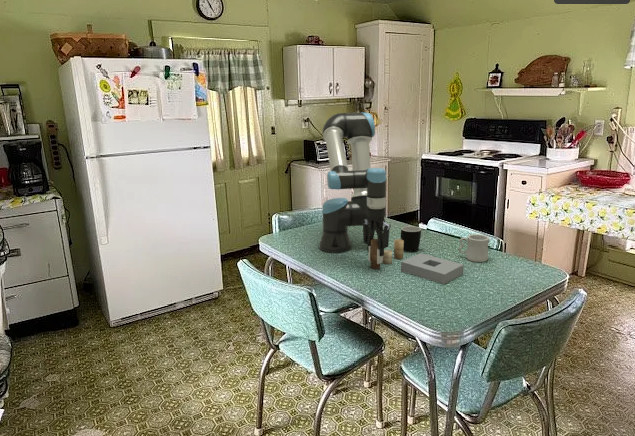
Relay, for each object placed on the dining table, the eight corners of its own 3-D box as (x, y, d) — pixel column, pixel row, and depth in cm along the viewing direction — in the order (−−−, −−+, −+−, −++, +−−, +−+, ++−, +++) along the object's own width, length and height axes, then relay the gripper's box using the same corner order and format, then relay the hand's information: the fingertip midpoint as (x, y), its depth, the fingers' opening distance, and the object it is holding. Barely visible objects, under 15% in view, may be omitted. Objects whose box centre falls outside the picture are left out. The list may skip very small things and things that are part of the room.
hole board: (400, 270, 187) (401, 261, 186) (420, 262, 196) (420, 253, 195) (444, 284, 173) (444, 274, 172) (463, 274, 182) (463, 264, 181)
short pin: (380, 262, 197) (380, 251, 195) (386, 260, 199) (386, 249, 198) (388, 264, 194) (388, 253, 193) (393, 262, 197) (394, 251, 195)
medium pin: (392, 257, 202) (392, 240, 200) (397, 255, 205) (398, 238, 203) (399, 260, 199) (400, 242, 197) (405, 257, 202) (405, 240, 200)
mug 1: (424, 251, 210) (425, 229, 207) (408, 254, 206) (408, 232, 204) (408, 243, 220) (409, 223, 218) (393, 246, 217) (393, 226, 214)
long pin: (368, 267, 191) (368, 240, 188) (374, 265, 194) (375, 237, 191) (376, 269, 189) (376, 242, 185) (382, 267, 191) (382, 239, 188)
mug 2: (488, 257, 200) (490, 235, 198) (486, 263, 193) (488, 241, 190) (459, 253, 206) (460, 232, 203) (456, 260, 198) (457, 238, 195)
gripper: (354, 205, 188) (354, 259, 194) (387, 212, 176) (386, 269, 182) (366, 202, 193) (365, 254, 199) (398, 208, 181) (397, 264, 187)
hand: (375, 261), depth 191 cm, fingers closed on long pin, 4 cm apart
